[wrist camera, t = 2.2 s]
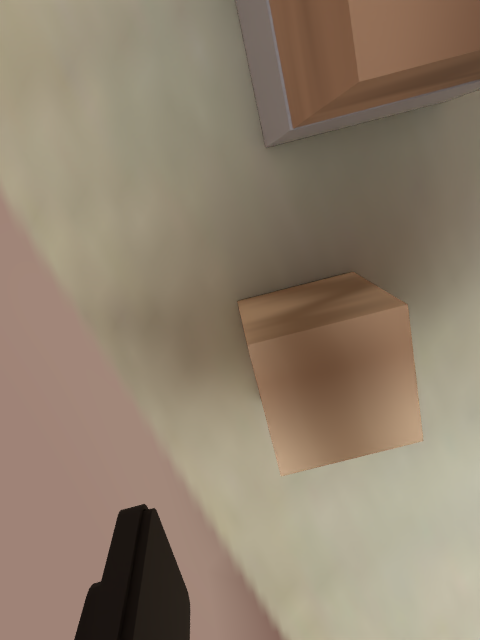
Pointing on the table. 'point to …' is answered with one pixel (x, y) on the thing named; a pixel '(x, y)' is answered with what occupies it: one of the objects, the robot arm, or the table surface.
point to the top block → (372, 52)
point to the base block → (273, 93)
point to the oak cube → (333, 370)
